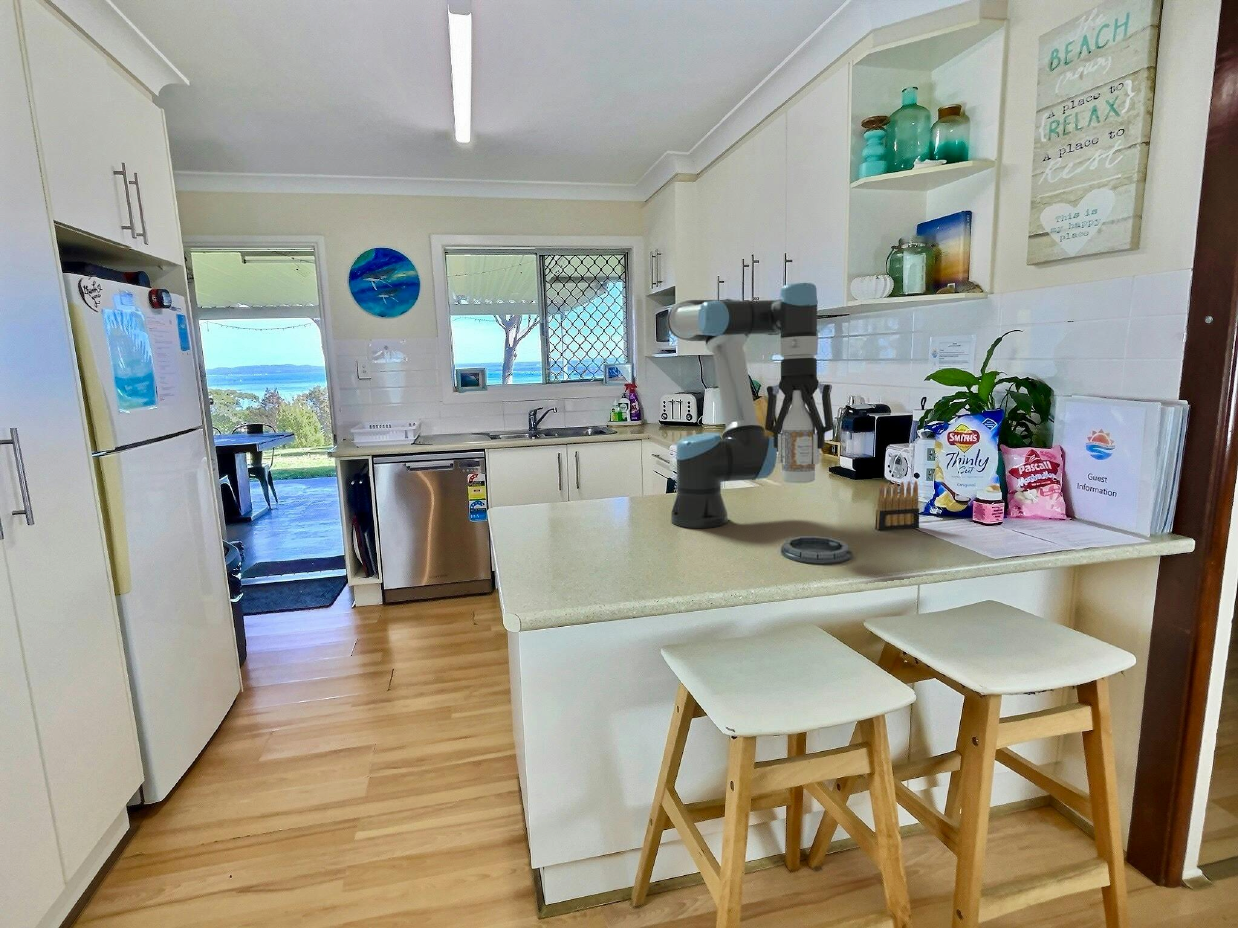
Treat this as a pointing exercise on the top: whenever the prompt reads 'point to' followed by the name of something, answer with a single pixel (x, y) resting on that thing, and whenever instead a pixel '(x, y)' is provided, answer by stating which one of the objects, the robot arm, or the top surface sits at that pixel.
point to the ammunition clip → (897, 508)
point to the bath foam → (798, 443)
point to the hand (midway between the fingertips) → (798, 462)
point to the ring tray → (816, 550)
